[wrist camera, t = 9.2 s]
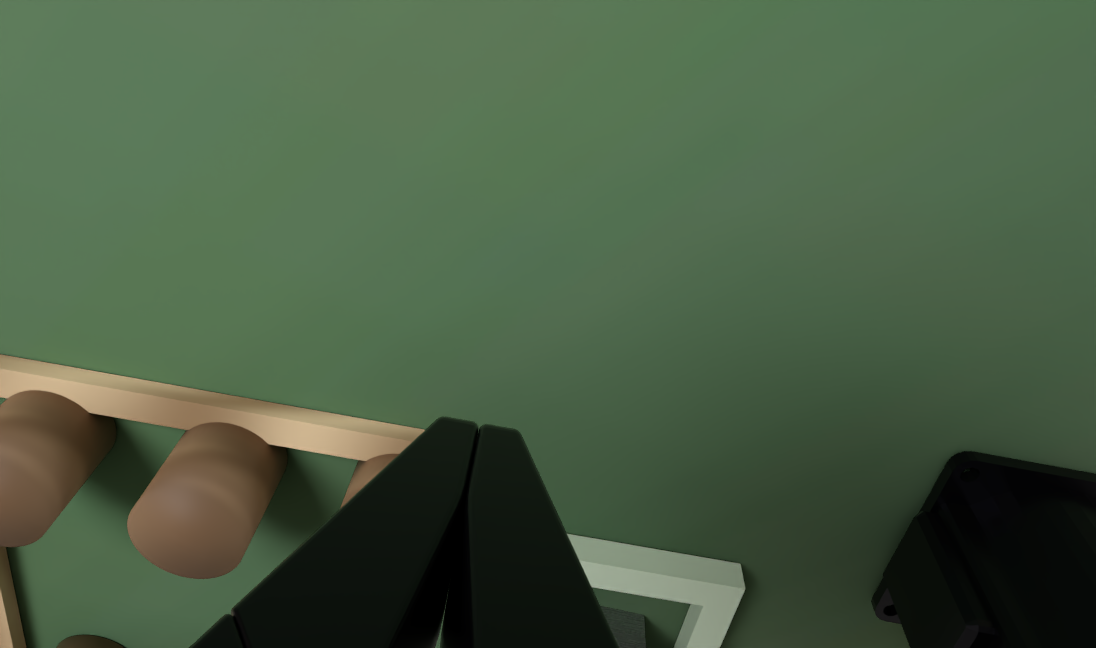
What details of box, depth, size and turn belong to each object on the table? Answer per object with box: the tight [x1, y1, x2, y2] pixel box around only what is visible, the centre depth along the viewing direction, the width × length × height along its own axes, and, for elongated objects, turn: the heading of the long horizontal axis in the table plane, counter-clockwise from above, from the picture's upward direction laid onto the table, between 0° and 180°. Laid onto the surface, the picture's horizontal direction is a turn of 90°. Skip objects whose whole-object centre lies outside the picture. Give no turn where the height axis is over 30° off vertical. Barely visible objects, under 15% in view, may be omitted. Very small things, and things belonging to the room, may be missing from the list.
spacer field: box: [0, 354, 425, 648], centre depth 26 cm, size 16×15×4 cm
